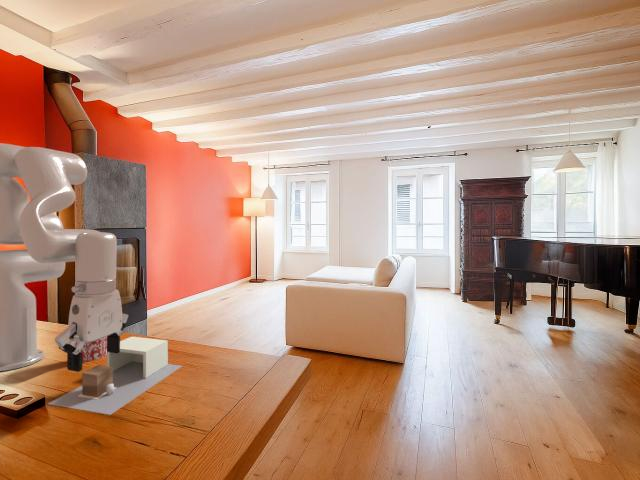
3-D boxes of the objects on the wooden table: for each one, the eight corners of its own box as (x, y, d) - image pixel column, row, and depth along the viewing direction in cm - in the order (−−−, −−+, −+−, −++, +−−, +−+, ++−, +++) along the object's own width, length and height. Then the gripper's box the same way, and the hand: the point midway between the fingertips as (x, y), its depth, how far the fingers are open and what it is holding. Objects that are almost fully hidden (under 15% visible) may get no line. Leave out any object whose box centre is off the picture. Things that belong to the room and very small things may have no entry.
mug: (77, 370, 85) (76, 320, 84) (67, 360, 91) (67, 314, 90) (128, 355, 95) (128, 311, 94) (117, 348, 100) (117, 306, 100)
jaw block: (97, 397, 70) (97, 375, 70) (82, 394, 71) (82, 372, 71) (112, 388, 74) (112, 367, 74) (98, 386, 75) (98, 365, 74)
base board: (47, 409, 67) (47, 394, 67) (132, 363, 90) (132, 352, 90) (110, 420, 64) (110, 405, 64) (182, 370, 86) (182, 358, 86)
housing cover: (107, 372, 81) (106, 347, 81) (131, 359, 89) (131, 336, 89) (146, 378, 79) (145, 351, 79) (167, 364, 87) (167, 340, 86)
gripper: (72, 297, 62) (71, 381, 63) (139, 281, 79) (138, 348, 80) (42, 293, 64) (41, 375, 65) (114, 278, 81) (113, 344, 82)
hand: (95, 360), depth 72 cm, fingers open, 9 cm apart
